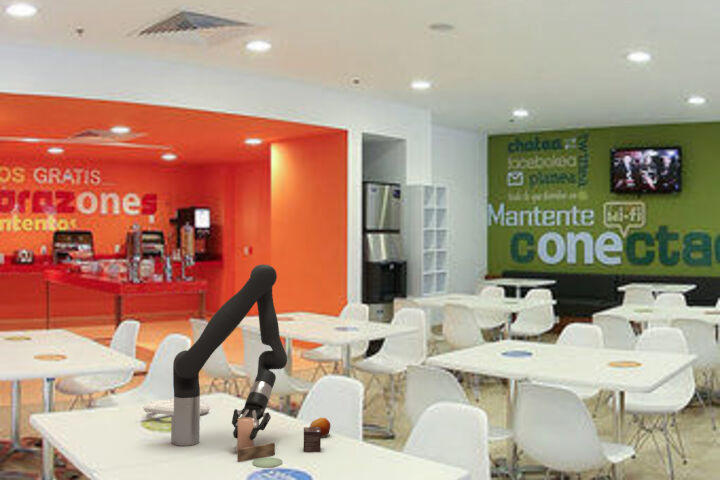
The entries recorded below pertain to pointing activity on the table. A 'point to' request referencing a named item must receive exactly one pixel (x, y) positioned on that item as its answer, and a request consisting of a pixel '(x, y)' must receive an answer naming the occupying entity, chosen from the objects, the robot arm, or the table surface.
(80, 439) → the table surface
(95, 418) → the table surface
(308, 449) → the box
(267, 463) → the coaster
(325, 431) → the fruit
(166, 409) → the pretzel
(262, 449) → the rail
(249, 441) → the peach dome-topped cylinder
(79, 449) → the table surface
